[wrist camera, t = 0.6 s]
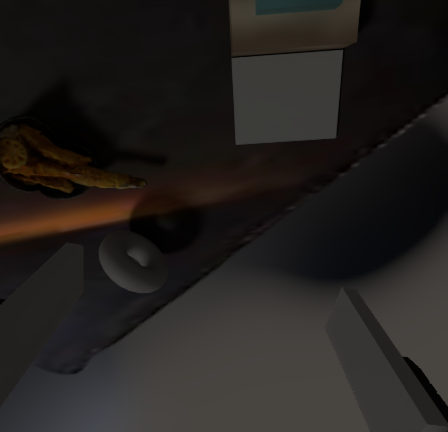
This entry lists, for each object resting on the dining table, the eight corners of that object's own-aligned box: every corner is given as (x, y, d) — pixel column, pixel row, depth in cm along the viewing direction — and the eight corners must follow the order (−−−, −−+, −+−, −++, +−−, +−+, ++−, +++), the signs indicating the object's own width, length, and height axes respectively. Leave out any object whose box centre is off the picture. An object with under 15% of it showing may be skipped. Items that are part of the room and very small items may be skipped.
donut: (178, 254, 44) (165, 295, 35) (164, 269, 45) (149, 312, 36) (123, 215, 41) (94, 248, 32) (110, 231, 42) (79, 268, 33)
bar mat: (231, 58, 34) (231, 58, 33) (341, 50, 33) (343, 49, 33) (235, 144, 38) (235, 144, 37) (334, 137, 37) (335, 138, 37)
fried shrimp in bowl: (-40, 101, 31) (93, 106, 26) (48, 133, 42) (155, 141, 37) (-53, 183, 31) (78, 205, 26) (38, 195, 42) (144, 212, 37)
